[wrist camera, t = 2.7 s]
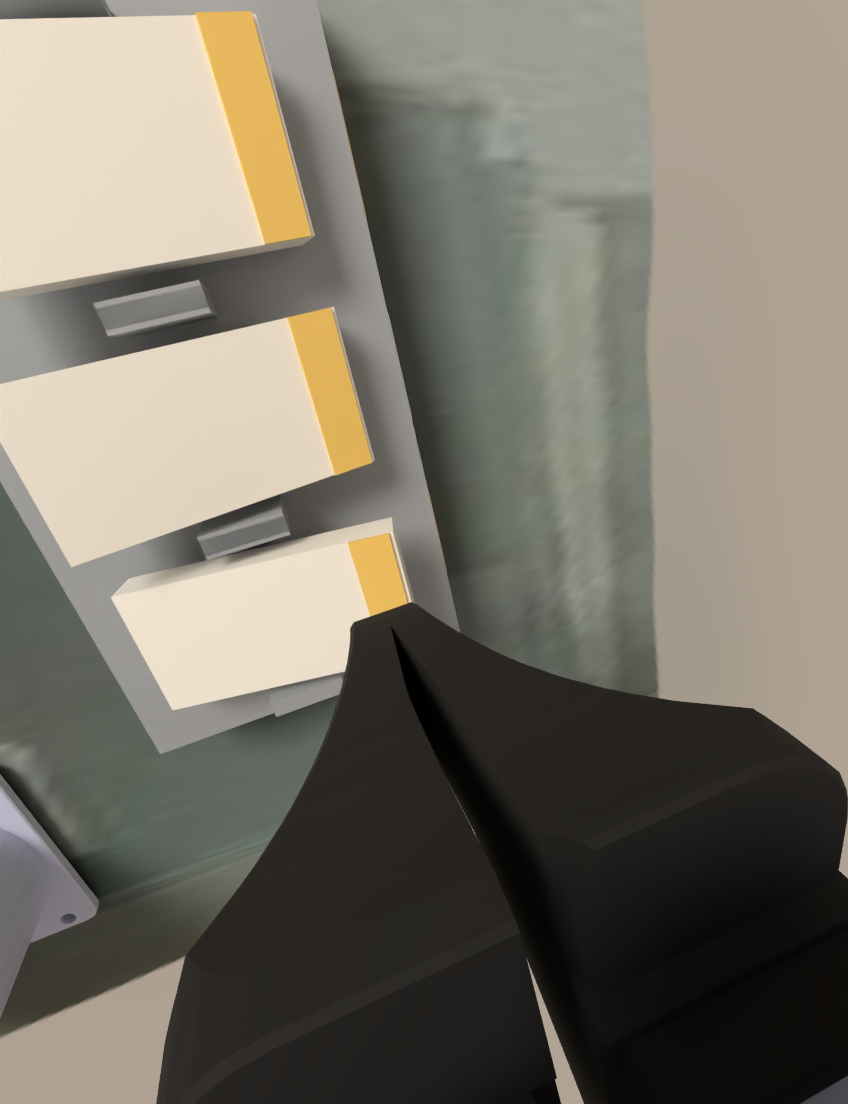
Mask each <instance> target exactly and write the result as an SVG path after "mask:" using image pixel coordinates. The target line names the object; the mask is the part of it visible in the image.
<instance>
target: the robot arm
mask: <svg viewBox="0 0 848 1104" xmlns="http://www.w3.org/2000/svg"><path fill="white" fill-rule="evenodd" d="M450 786H451V787H450ZM451 788H452V789H451ZM452 790H453V791H452ZM453 792H454V793H455V795H456V797H457V799H458V801H459V803H460V805H461V806H460V805H459V803H458V801H457V799H456V797H455V795H454V793H453ZM461 807H462V808H461ZM462 809H463V810H462ZM847 810H848V797H847V789H846V787H845V785H844V782H843V780H842V777H841V775H840V773H839V772H838V771H837V770H836V769H835V768H833V767H832V766H831V765H830V764H828V763H827V762H826V761H825V760H823V759H822V758H821V757H820V756H818V755H817V754H816V753H814V752H813V751H812V750H810V749H809V748H808V747H807V746H805V745H804V744H803V743H801V742H800V741H799V740H798V739H796V738H795V737H794V736H792V735H791V734H790V733H789V732H787V731H786V730H784V729H783V728H781V727H780V726H778V725H777V724H775V723H774V722H772V721H771V720H770V719H768V718H767V717H765V716H764V715H762V714H761V713H759V712H757V711H756V710H754V709H752V708H742V707H731V706H720V705H710V704H700V703H690V702H680V701H672V700H666V699H660V698H654V697H648V696H642V695H636V694H630V693H625V692H620V691H615V690H610V689H606V688H601V687H597V686H594V685H590V684H586V683H582V682H578V681H574V680H570V679H567V678H564V677H560V676H557V675H554V674H551V673H548V672H545V671H542V670H539V669H536V668H534V667H531V666H528V665H525V664H523V663H520V662H517V661H515V660H513V659H510V658H508V657H506V656H504V655H501V654H499V653H497V652H495V651H493V650H491V649H489V648H487V647H485V646H483V645H481V644H479V643H477V642H476V641H474V640H472V639H470V638H468V637H467V636H465V635H463V634H461V633H460V632H458V631H456V630H455V629H453V628H451V627H450V626H448V625H446V624H445V623H443V622H442V621H440V620H439V619H437V618H436V617H434V616H433V615H431V614H430V613H428V612H427V611H425V610H424V609H423V608H421V607H420V606H419V605H417V604H415V603H413V602H410V603H407V604H404V605H402V606H399V607H396V608H393V609H390V610H387V611H384V612H382V613H379V614H376V615H373V616H370V617H367V618H364V619H362V620H359V621H356V622H354V623H353V624H352V626H351V628H350V646H349V653H348V660H347V665H346V669H345V674H344V678H343V683H342V687H341V691H340V694H339V697H338V701H337V704H336V707H335V710H334V713H333V717H332V720H331V723H330V725H329V728H328V731H327V733H326V736H325V739H324V741H323V743H322V746H321V748H320V750H319V753H318V755H317V757H316V760H315V762H314V764H313V766H312V768H311V770H310V772H309V774H308V776H307V778H306V780H305V782H304V784H303V786H302V788H301V790H300V792H299V794H298V796H297V798H296V800H295V802H294V803H293V805H292V807H291V809H290V811H289V812H288V814H287V816H286V817H285V819H284V821H283V822H282V824H281V826H280V827H279V829H278V830H277V832H276V833H275V835H274V837H273V838H272V840H271V841H270V843H269V844H268V846H267V848H266V849H265V851H264V852H263V854H262V855H261V857H260V859H259V860H258V862H257V863H256V865H255V866H254V868H253V869H252V870H251V872H250V873H249V875H248V876H247V877H246V879H245V880H244V882H243V883H242V884H241V886H240V887H239V888H238V889H237V891H236V892H235V893H234V895H233V896H232V897H231V899H230V900H229V901H228V902H227V904H226V905H225V906H224V908H223V909H222V910H221V911H220V913H219V914H218V915H217V917H216V918H215V919H214V921H213V922H212V923H211V924H210V926H209V927H208V928H207V930H206V931H205V932H204V933H203V935H202V936H201V937H200V939H199V940H198V941H197V942H196V943H195V945H194V946H193V947H192V948H191V949H190V951H189V952H188V953H187V955H186V957H185V961H184V965H183V969H182V973H181V977H180V982H179V985H178V990H177V994H176V998H175V1001H174V1005H173V1009H172V1013H171V1018H170V1022H169V1026H168V1031H167V1035H166V1040H165V1046H164V1053H163V1060H162V1068H161V1074H160V1082H159V1089H158V1096H157V1104H561V1102H560V1098H559V1094H558V1090H557V1086H556V1082H555V1079H556V1078H557V1077H556V1073H555V1069H554V1065H553V1061H552V1057H551V1053H550V1049H549V1046H548V1041H547V1037H546V1034H545V1030H544V1026H543V1022H542V1018H541V1014H540V1010H539V1006H538V1002H537V998H536V994H535V990H534V986H533V982H532V979H531V974H530V970H529V966H528V962H529V965H530V968H531V970H532V973H533V975H534V978H535V980H536V983H537V985H538V987H539V990H540V993H541V995H542V998H543V1000H544V1002H545V1005H546V1007H547V1010H548V1013H549V1015H550V1018H551V1020H552V1023H553V1025H554V1028H555V1030H556V1033H557V1035H558V1038H559V1040H560V1043H561V1046H562V1048H563V1051H564V1053H565V1056H566V1058H567V1061H568V1063H569V1066H570V1068H571V1071H572V1074H573V1076H574V1079H575V1081H576V1084H577V1086H578V1089H579V1091H580V1094H581V1097H582V1099H583V1102H584V1104H848V878H846V877H845V876H844V875H843V874H842V873H841V872H840V871H839V870H838V869H839V864H840V858H841V852H842V847H843V841H844V835H845V828H846V823H847V814H848V813H847V812H848V811H847ZM463 811H464V812H463ZM464 813H465V814H466V816H467V818H468V820H469V822H470V824H471V826H472V828H473V830H474V832H475V834H476V836H475V834H474V832H473V830H472V828H471V826H470V824H469V822H468V820H467V818H466V816H465V814H464ZM476 837H477V838H476ZM98 906H99V901H98V899H97V898H96V896H95V895H94V894H93V892H92V891H91V890H90V889H89V887H88V886H87V885H86V883H85V882H84V881H83V880H82V878H81V877H80V876H79V874H78V873H77V872H76V871H75V869H74V868H73V867H72V865H71V864H70V863H69V862H68V860H67V859H66V858H65V856H64V855H63V854H62V853H61V851H60V850H59V849H58V848H57V846H56V845H55V844H54V842H53V841H52V840H51V839H50V837H49V836H48V835H47V833H46V832H45V831H44V830H43V828H42V827H41V826H40V824H39V823H38V822H37V821H36V819H35V818H34V817H33V815H32V814H31V813H30V812H29V810H28V809H27V808H26V806H25V805H24V804H23V803H22V801H21V800H20V799H19V798H18V796H17V795H16V794H15V792H14V791H13V790H12V789H11V787H10V786H9V785H8V783H7V782H6V781H5V780H4V778H3V777H2V776H1V774H0V1018H1V1016H2V1013H3V1011H4V1008H5V1005H6V1003H7V1000H8V998H9V995H10V993H11V990H12V987H13V985H14V982H15V980H16V977H17V975H18V972H19V969H20V967H21V964H22V962H23V959H24V957H25V954H26V951H27V949H28V946H29V944H30V943H32V942H35V941H37V940H40V939H42V938H45V937H47V936H49V935H52V934H54V933H57V932H59V931H62V930H64V929H67V928H69V927H72V926H74V925H77V924H79V923H82V922H84V921H87V920H89V919H91V918H92V917H94V916H95V914H96V912H97V909H98ZM527 960H528V962H527Z"/></svg>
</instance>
